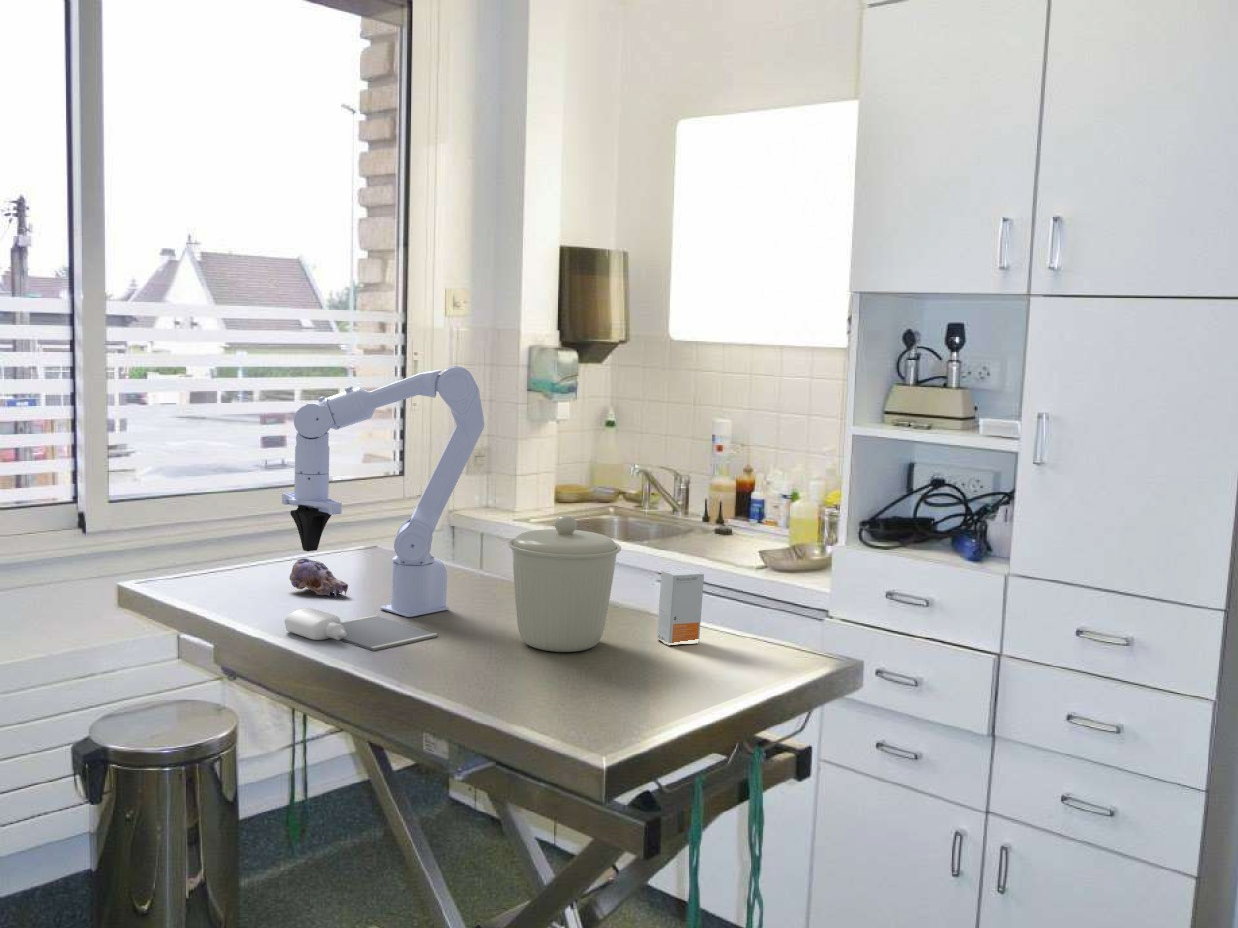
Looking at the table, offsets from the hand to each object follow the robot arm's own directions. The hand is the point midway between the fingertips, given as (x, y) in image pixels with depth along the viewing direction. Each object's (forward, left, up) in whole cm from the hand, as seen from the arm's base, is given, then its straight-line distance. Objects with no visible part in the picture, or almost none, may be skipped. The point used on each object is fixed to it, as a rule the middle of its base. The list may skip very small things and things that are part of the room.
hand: (310, 550), depth 193 cm
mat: (+2, +20, -10) cm, 23 cm away
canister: (-17, +44, -11) cm, 48 cm away
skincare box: (-33, +56, -11) cm, 66 cm away
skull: (-8, -9, -11) cm, 16 cm away
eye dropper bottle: (+10, +10, -9) cm, 17 cm away
